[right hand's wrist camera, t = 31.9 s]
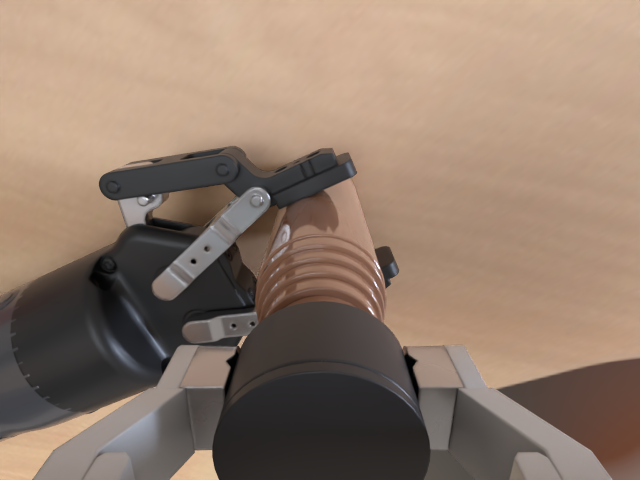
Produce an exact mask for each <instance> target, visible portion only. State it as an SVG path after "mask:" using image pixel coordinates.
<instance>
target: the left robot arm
mask: <svg viewBox="0 0 640 480" xmlns="http://www.w3.org/2000/svg"><path fill="white" fill-rule="evenodd" d="M356 173H357V171H356V169H355V166H354V164H353V162H352V159H351V157H350V155H349V153H344V154H341V155H339V156H337V157H336V155H335V153H334V151H333V149H332V148H325V149H319V150H317V151H315V152H312V153H310V154H308V155H306V156H304V157H302V158H299V159H297V160H295V161H293V162H291V163H289V164H286V165H284V166H282V167H280V168H278V169H276V170H273V171H263V170H260V169H258V168H257V167H256V166H255V165H254V164H253V163H252V162H250V161H249V160H248V159H247V158H246V155H245V153H244V151H243V150H242V149H240V148H238V147H236V146H230V147H224V148H218V149H211V150H205V151H199V152H192V153H186V154H180V155H173V156H167V157H161V158H155V159H148V160H142V161H136V162H131V163H129V164H126V165H124V166H122V167H120V168H117V169H115V170H113V171H111V172H109V173H106V174H104V175H103V176H102V177H101V178H100V181H99V187H100V190H101V192H102V193H103V195H104V196H106V197H107V198H109V199H111V200H117V201H118V203H119V206H120V209H121V212H122V215H123V218H124V221H125V224H126V226H127V228H126V229H125V230H124V231H123V232H122V233H121V234H120V236H119V238H118V240H117V241H116V242H115V243H113V244H111V245H109V246H107V247H104V248H102V249H100V250H98V251H96V252H94V253H91V254H89V255H87V256H85V257H83V258H81V259H78V260H76V261H74V262H72V263H70V264H68V265H65V266H63V267H61V268H59V269H57V270H55V271H53V272H50V273H48V274H46V275H44V276H42V277H40V278H37V279H35V280H33V281H31V282H29V283H27V284H24V285H22V286H20V287H18V288H16V289H14V290H12V291H9V292H7V293H5V294H3V295H1V296H0V442H1V441H4V440H6V439H9V438H12V437H14V436H16V435H19V434H22V433H26V432H30V431H35V430H40V429H45V428H49V427H52V426H55V425H58V424H61V423H64V422H66V421H69V420H71V419H74V418H77V417H79V416H82V415H84V414H89V413H92V412H95V411H96V410H98V409H100V408H102V407H105V406H107V405H110V404H112V403H115V402H117V401H120V400H122V399H125V398H128V397H130V396H133V395H135V394H138V393H140V392H143V391H146V390H148V389H149V388H153V387H156V386H157V384H158V383H159V381H160V379H161V377H162V375H163V373H164V371H165V369H166V368H167V366H168V364H169V362H170V360H171V358H172V356H173V355H174V353H175V351H176V349H177V348H178V347H179V346H181V345H199V346H200V345H217V346H237V345H238V343H239V342H240V340H241V338H242V337H243V336H247V335H249V334H250V332H251V331H252V330H253V329H254V328H255V327H256V326H257V325H258V321H257V312H256V306H255V294H256V283H257V279H256V278H255V276H254V274H253V273H252V272H251V271H250V270H249V269H248V268H247V267H246V266H245V265H244V264H243V262H242V259H241V256H240V252H239V248H238V246H237V245H236V243H235V241H236V240H237V238H238V237H239V236H240V235H241V234H242V233H243V232H244V231H245V230H246V229H247V228H248V227H249V226H251V225H252V224H253V223H254V222H255V221H256V220H257V219H258V218H259V217H260V216H261V215H262V214H264V213H265V212H266V211H267V210H268V208H269V207H272V206H274V205H276V204H277V206H278V208H279V210H280V209H282V208H284V207H287V206H289V205H291V204H293V203H295V202H297V201H299V200H302V199H304V198H307V197H309V196H311V195H313V194H316V193H318V192H320V191H322V190H325V189H327V188H329V187H331V186H334V185H336V184H338V183H340V182H343V181H345V180H347V179H349V178H351V177H353V176H354V175H355V174H356ZM221 184H224V185H226V186H227V187H228V188H229V189H230V190H231V191H232V192H233V193H234V194H235V195H236V197H235V198H233V199H232V200H231V201H230V202H229V203H227V204H226V205H225V206H224V207H223V208H222V209H221V210H220V211H219V212H218V213H217V214H216V215H215V216H214V217H213V218H212V219H211V220H210V221H209V222H208V223H206V224H205V225H204V226H198V225H192V224H187V223H181V222H176V221H171V220H165V219H160V218H155V217H153V216H152V212H153V209H156V208H158V207H159V206H160V205H161V204H163V203H164V202H165V201H166V200H167V199H168V197H169V192H175V191H182V190H188V189H195V188H201V187H208V186H214V185H221ZM375 251H376V255H377V258H378V261H379V264H380V267H381V270H382V273H383V277H384V281H385V289H386V288H387V287H388V286H389V285H390V284H391V282H390V278H393V277H394V276H396V275H397V274H398V272H399V269H398V266H397V264H396V261H395V259H394V257H393V254H392V252H391V250H390V247H388V246H384V247H380V248H377V249H375Z"/></svg>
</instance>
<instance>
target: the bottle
mask: <svg viewBox="0 0 640 480" xmlns="http://www.w3.org/2000/svg"><path fill="white" fill-rule="evenodd" d="M310 301H331V302H338V303H344V304H348V305H351V306H354V307H357V308H359V309H362V310H364V311H366V312H368V313H369V314H371V315H373V316H374V317H376V318H377V319H379V320H380V321H381V322H382V323H384V317H385V309H386V292H385V281H384V277H383V273H382V270H381V267H380V264H379V261H378V258H377V255H376V251H375V248H374V245H373V242H372V239H371V236H370V233H369V230H368V226H367V223H366V220H365V217H364V214H363V211H362V208H361V205H360V202H359V198H358V195H357V192H356V189H355V186H354V184H353V181H352V180H351V178H349V179H347V180H345V181H343V182H340V183H338V184H336V185H334V186H331V187H329V188H327V189H325V190H322V191H320V192H318V193H316V194H313V195H311V196H309V197H307V198H304V199H302V200H299V201H297V202H295V203H293V204H291V205H289V206H287V207H284V208H282V209H280V210H278V213H277V217H276V220H275V223H274V226H273V229H272V233H271V236H270V239H269V242H268V245H267V249H266V252H265V255H264V258H263V261H262V265H261V268H260V271H259V274H258V278H257V283H256V294H255V306H256V312H257V321H258V324H259V323H260V322H261V321H263V320H264V319H265V318H267V317H268V316H270V315H271V314H273V313H275V312H276V311H278V310H281V309H283V308H286V307H288V306H291V305H295V304H299V303H304V302H310Z"/></svg>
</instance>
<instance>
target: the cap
mask: <svg viewBox="0 0 640 480" xmlns="http://www.w3.org/2000/svg"><path fill="white" fill-rule="evenodd" d="M430 450H431V449H430V441H429V436H428V433H427V430H426V426H425V423H424V420H423V416H422V413H421V410H420V406H419V403H418V400H417V396H416V393H415V390H414V386H413V383H412V380H411V376H410V373H409V370H408V366H407V363H406V360H405V356H404V353H403V350H402V348H401V346H400V343H399V341H398V340H397V338H396V337H395V335H394V334H393V333H392V332H391V330H390V329H389V328H388V327H387V326H386V325H385V324H384V323H382V322H381V321H380V320H379V319H377V318H376V317H374V316H373V315H371V314H369V313H368V312H366V311H364V310H362V309H359V308H357V307H354V306H351V305H348V304H344V303H338V302H331V301H310V302H304V303H299V304H295V305H291V306H288V307H286V308H283V309H281V310H278V311H276V312H275V313H273V314H271V315H270V316H268V317H267V318H265V319H264V320H263V321H261V322H260V323H259V324H258V325H257V326H256V327H255V328H254V329H253V330H252V331H251V332H250V334H249V335H248V336H247V338H246V339H245V341H244V343H243V345H242V347H241V349H240V352H239V355H238V358H237V362H236V365H235V368H234V371H233V375H232V378H231V382H230V385H229V388H228V391H227V395H226V398H225V401H224V404H223V408H222V411H221V414H220V418H219V421H218V425H217V428H216V431H215V434H214V439H213V445H212V456H213V462H214V467H215V470H216V473H217V476H218V478H219V480H424V478H425V475H426V473H427V470H428V466H429V462H430Z"/></svg>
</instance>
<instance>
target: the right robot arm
mask: <svg viewBox="0 0 640 480" xmlns="http://www.w3.org/2000/svg"><path fill="white" fill-rule="evenodd" d="M239 352H240V348H239V346H217V345H200V346H199V345H181V346H179V347H178V348H177V349H176V351H175V353H174V355H173V356H172V358H171V360H170V362H169V364H168V366H167V368H166V369H165V371H164V373H163V375H162V377H161V379H160V381H159V383H158V384H157V386H156V388H149V389H148V390H146V391H145V392H143V393H141V394H140V395H138V396H137V397H135V398H134V399H132V400H131V401H129V402H127V403H126V404H124V405H123V406H121V407H120V408H118V409H117V410H115V411H114V412H112V413H110V414H109V415H107V416H106V417H104V418H103V419H101V420H100V421H98V422H97V423H95V424H93V425H92V426H90V427H89V428H87V429H86V430H84V431H83V432H81V433H80V434H78V435H76V436H75V437H73V438H72V439H70V440H69V441H67V442H66V443H64V444H63V445H61V446H59V447H58V448H56V449H55V450H53V452H52V453H51V454H50V456H49V457H48V459H47V460H46V461H45V463H44V464H43V466H42V467H41V468H40V470H39V471H38V472H37V474H36V475H35V477H34V478H33V479H32V480H169V479H170V478H171V477H172V476H173V475H174V474H175V473H176V472H177V471H178V470H179V469H180V468H181V467H182V466H183V464H184V463H185V462H186V461H187V460H188V459H189V458H190V457H191V456H192V455H193V454H194V453H195V451H194V450H212V445H213V439H214V434H215V431H216V428H217V425H218V421H219V418H220V414H221V411H222V408H223V404H224V401H225V398H226V395H227V391H228V388H229V385H230V382H231V378H232V375H233V371H234V368H235V365H236V362H237V358H238V355H239ZM403 353H404V356H405V360H406V363H407V366H408V370H409V373H410V376H411V380H412V383H413V386H414V390H415V393H416V396H417V400H418V403H419V406H420V410H421V413H422V416H423V420H424V423H425V426H426V430H427V433H428V436H429V441H430V449H431V450H449V451H448V452H449V453H450V454H451V455H452V456H453V457H454V459H455V460H456V461H457V462H458V463H459V464H460V465H461V466H462V467H463V468H464V469H465V470H466V471H467V472H468V473H469V474H470V476H471V477H472V478H473V479H474V480H612V478H611V477H610V476H609V474H608V473H607V472H606V470H605V469H604V468H603V466H602V465H601V463H600V462H599V461H598V459H597V458H596V457H595V455H594V454H593V452H592V451H591V450H589V449H587V448H586V447H584V446H583V445H581V444H580V443H578V442H577V441H575V440H574V439H572V438H570V437H569V436H567V435H566V434H564V433H563V432H561V431H560V430H558V429H556V428H555V427H553V426H552V425H550V424H549V423H547V422H546V421H544V420H542V419H541V418H539V417H538V416H536V415H535V414H533V413H532V412H530V411H528V410H527V409H525V408H524V407H522V406H521V405H519V404H518V403H516V402H514V401H513V400H511V399H510V398H508V397H507V396H505V395H504V394H502V393H500V392H499V391H497V390H496V389H494V388H488V387H487V386H486V384H485V382H484V380H483V378H482V376H481V375H480V373H479V371H478V369H477V367H476V366H475V364H474V362H473V360H472V358H471V357H470V355H469V353H468V351H467V349H466V348H465V347H464V346H463V345H443V346H404V347H403Z"/></svg>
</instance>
